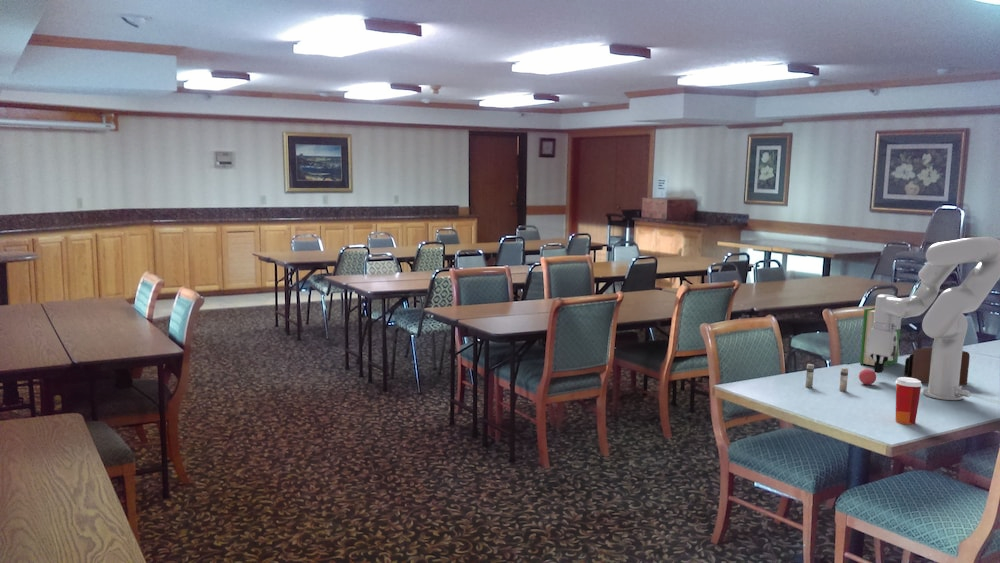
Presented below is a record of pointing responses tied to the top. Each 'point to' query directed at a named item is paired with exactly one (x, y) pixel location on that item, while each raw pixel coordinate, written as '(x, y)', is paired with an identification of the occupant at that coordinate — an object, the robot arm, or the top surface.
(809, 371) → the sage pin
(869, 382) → the ball
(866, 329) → the hardback book
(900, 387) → the paper cup
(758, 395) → the top surface
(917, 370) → the letter holder
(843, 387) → the ivory pin
